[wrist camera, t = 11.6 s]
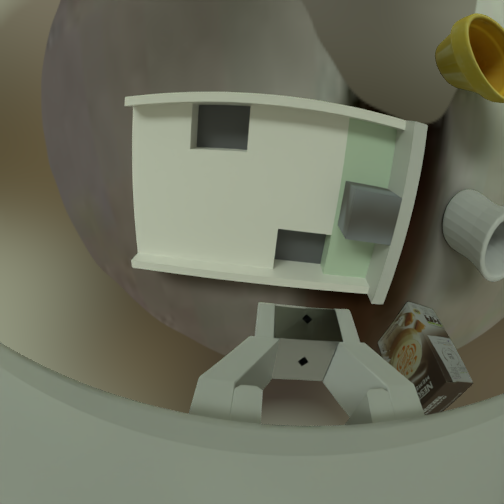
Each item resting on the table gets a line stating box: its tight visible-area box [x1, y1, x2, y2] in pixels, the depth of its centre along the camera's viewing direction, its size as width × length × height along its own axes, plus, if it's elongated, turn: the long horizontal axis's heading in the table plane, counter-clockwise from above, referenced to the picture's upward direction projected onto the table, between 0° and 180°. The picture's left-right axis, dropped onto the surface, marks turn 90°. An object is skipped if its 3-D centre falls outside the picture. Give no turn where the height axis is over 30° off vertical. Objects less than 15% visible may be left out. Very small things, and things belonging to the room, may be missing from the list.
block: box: [338, 181, 402, 245], centre depth 26 cm, size 5×5×4 cm
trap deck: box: [125, 92, 428, 304], centre depth 28 cm, size 20×30×7 cm, turn 86°
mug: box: [443, 189, 504, 282], centre depth 25 cm, size 12×9×10 cm
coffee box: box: [378, 302, 473, 415], centre depth 31 cm, size 9×6×16 cm
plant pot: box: [435, 14, 504, 103], centre depth 17 cm, size 10×10×10 cm
